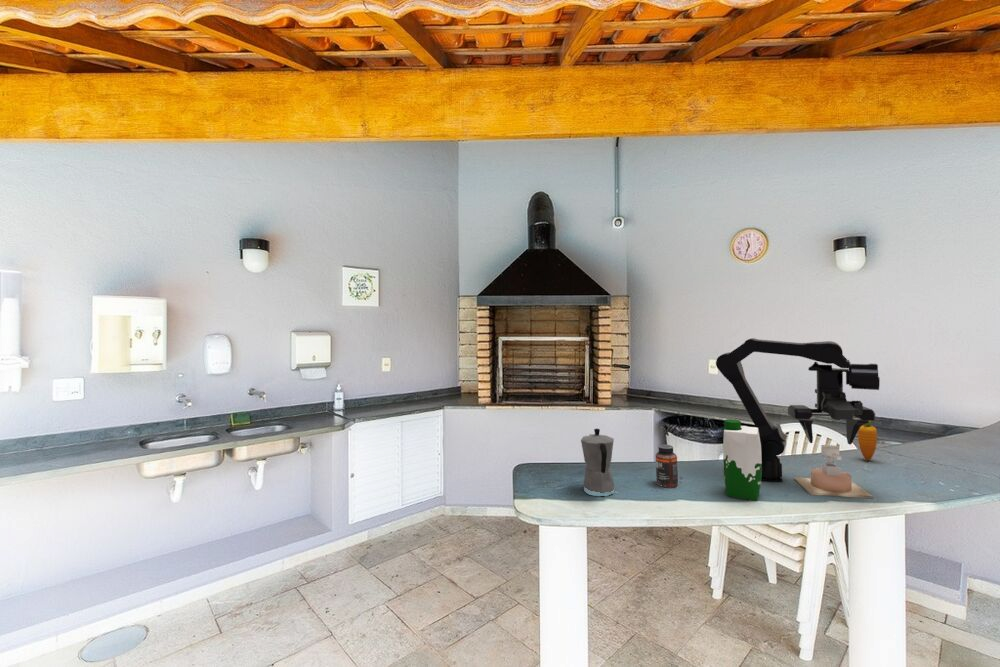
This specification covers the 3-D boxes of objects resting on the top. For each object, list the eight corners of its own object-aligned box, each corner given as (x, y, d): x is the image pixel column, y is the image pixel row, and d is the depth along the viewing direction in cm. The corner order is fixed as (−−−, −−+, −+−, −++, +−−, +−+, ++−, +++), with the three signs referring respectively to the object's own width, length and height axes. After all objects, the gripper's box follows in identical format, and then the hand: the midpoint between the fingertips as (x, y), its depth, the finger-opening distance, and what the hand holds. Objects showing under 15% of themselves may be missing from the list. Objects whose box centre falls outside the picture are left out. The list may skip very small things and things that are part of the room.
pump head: (830, 469, 115) (830, 452, 115) (818, 461, 122) (818, 444, 121) (848, 470, 114) (848, 452, 114) (835, 461, 121) (835, 444, 120)
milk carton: (725, 485, 124) (724, 416, 123) (762, 491, 119) (761, 419, 118) (722, 496, 116) (721, 423, 116) (762, 503, 112) (760, 427, 111)
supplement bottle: (678, 481, 128) (677, 444, 128) (677, 489, 123) (676, 450, 122) (657, 479, 131) (656, 442, 130) (655, 486, 125) (654, 448, 125)
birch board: (810, 494, 116) (810, 492, 116) (794, 479, 126) (793, 477, 126) (872, 498, 112) (872, 495, 112) (850, 482, 123) (850, 480, 123)
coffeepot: (578, 482, 131) (576, 423, 130) (609, 481, 130) (607, 422, 130) (588, 504, 115) (586, 437, 115) (623, 503, 115) (621, 436, 114)
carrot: (881, 463, 136) (881, 416, 136) (863, 463, 137) (862, 416, 137) (871, 458, 141) (870, 413, 140) (854, 458, 142) (853, 413, 141)
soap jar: (819, 491, 116) (819, 469, 116) (805, 479, 125) (804, 459, 125) (858, 493, 114) (858, 471, 114) (841, 480, 122) (841, 460, 122)
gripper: (803, 392, 113) (803, 451, 114) (888, 392, 108) (888, 454, 109) (786, 385, 124) (787, 439, 124) (863, 385, 119) (863, 441, 120)
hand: (830, 443), depth 119 cm, fingers open, 9 cm apart
